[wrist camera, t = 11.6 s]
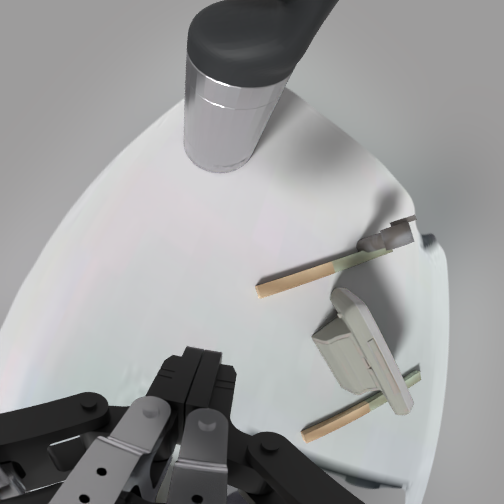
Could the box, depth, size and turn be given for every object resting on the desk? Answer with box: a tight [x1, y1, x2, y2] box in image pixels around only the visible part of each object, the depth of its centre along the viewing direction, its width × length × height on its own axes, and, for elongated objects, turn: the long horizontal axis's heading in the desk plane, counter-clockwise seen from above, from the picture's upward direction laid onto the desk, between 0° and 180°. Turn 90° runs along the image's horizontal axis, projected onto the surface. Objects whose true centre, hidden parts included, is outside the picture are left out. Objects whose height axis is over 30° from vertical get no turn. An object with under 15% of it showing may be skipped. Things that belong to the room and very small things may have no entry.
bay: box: [255, 215, 421, 443], centre depth 33 cm, size 24×20×10 cm
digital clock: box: [312, 287, 414, 415], centre depth 32 cm, size 16×9×11 cm, turn 20°
